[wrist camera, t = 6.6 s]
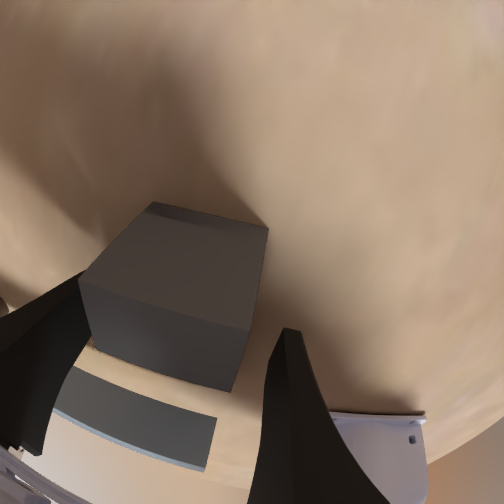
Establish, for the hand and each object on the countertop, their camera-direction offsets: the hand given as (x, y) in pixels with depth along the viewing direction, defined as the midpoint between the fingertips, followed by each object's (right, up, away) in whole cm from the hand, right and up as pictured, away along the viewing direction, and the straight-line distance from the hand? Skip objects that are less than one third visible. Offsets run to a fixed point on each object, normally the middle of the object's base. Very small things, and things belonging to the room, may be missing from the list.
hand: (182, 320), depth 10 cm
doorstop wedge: (0, 0, +3) cm, 3 cm away
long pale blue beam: (-9, -6, +5) cm, 12 cm away
